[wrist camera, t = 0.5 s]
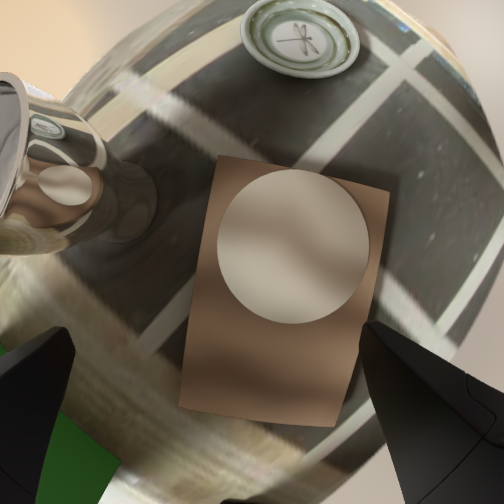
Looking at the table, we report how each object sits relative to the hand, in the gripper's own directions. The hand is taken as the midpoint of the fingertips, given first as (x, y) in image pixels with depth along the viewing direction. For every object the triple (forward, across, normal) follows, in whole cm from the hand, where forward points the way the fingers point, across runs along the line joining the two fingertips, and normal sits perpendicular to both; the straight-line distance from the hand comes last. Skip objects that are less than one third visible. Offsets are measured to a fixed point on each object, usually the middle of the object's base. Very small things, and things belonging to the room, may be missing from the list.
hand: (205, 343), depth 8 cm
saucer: (+20, -6, -13) cm, 24 cm away
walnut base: (+12, -4, +6) cm, 14 cm away
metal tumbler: (+15, +8, -1) cm, 17 cm away
